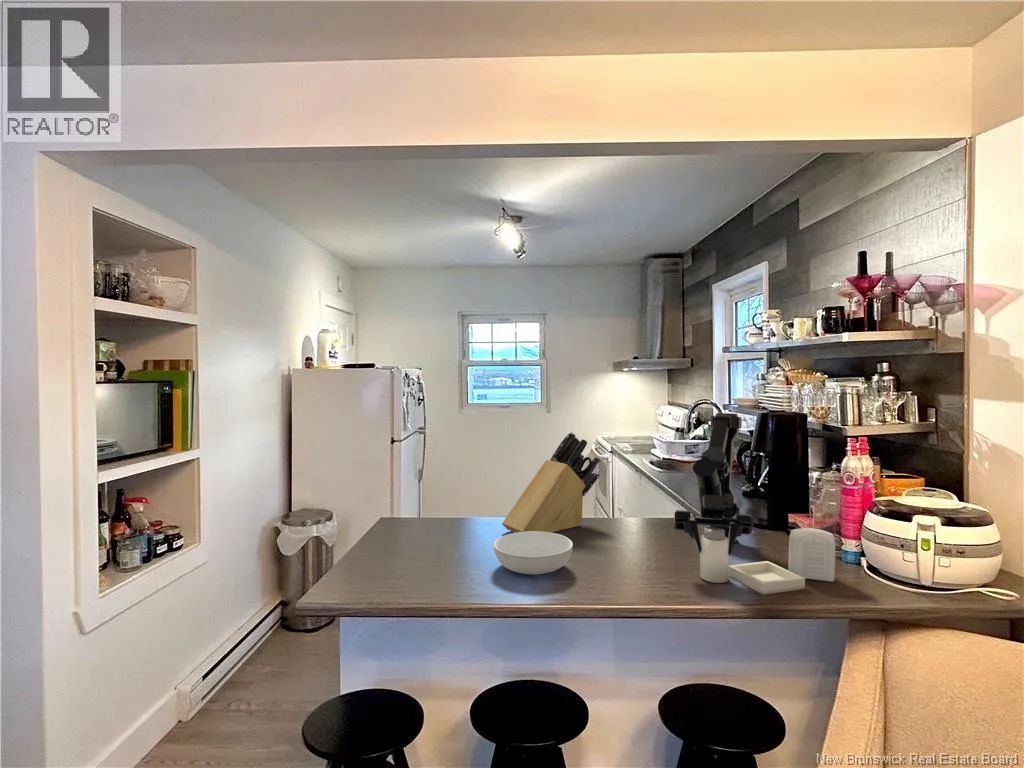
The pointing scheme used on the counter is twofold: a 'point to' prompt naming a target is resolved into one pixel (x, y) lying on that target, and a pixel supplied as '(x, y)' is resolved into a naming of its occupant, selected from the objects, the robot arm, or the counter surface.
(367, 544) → the counter surface
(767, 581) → the cream tray
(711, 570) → the white bottle
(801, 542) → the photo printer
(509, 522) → the knife block
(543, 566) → the serving bowl
